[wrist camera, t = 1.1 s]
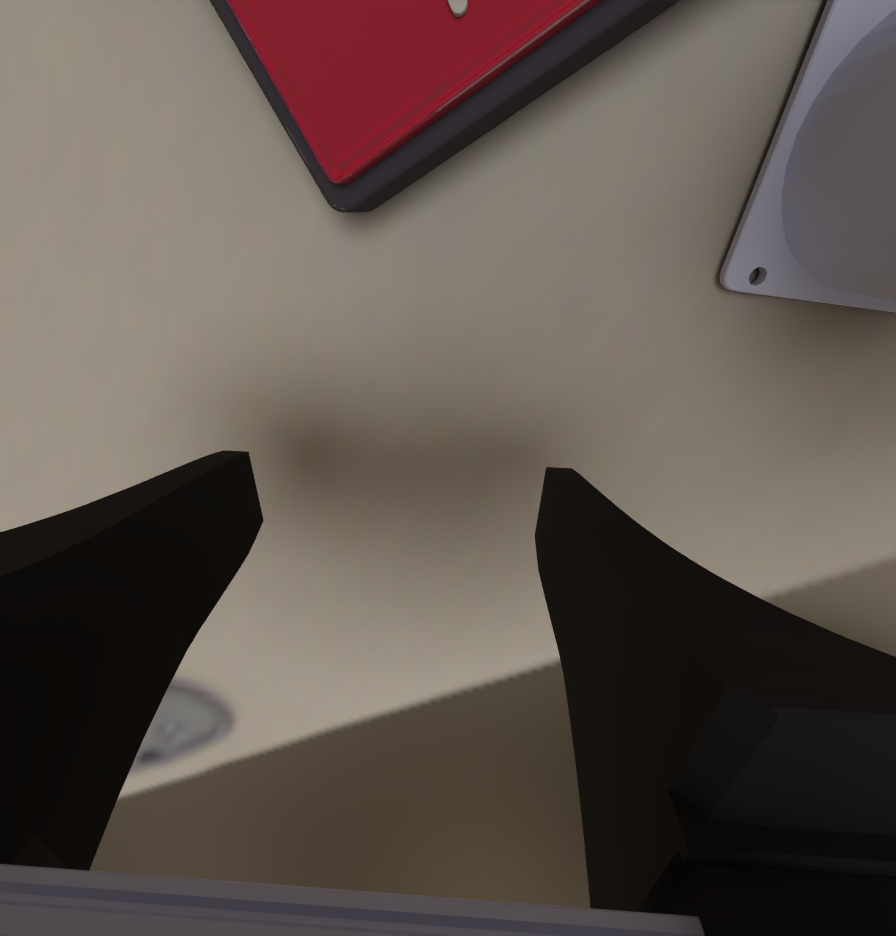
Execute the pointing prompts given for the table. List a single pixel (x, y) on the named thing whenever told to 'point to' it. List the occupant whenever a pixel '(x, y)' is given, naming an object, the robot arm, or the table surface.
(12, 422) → the table surface
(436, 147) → the big button panel
